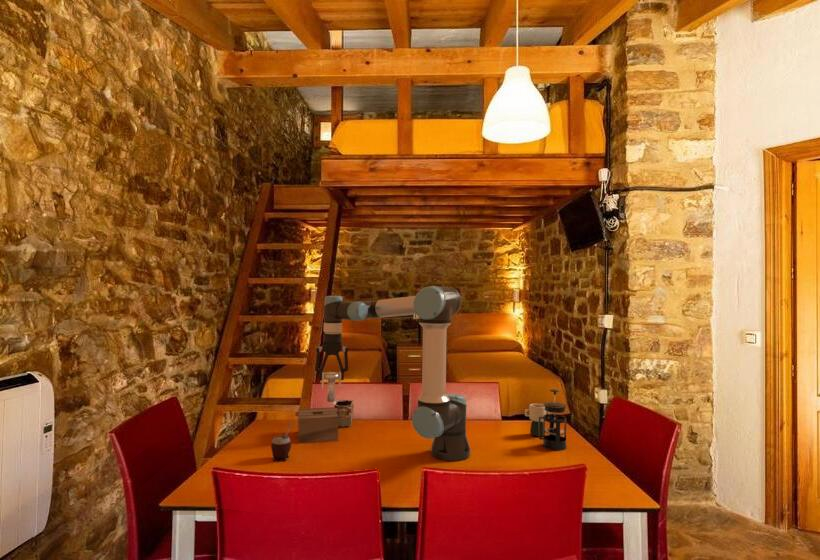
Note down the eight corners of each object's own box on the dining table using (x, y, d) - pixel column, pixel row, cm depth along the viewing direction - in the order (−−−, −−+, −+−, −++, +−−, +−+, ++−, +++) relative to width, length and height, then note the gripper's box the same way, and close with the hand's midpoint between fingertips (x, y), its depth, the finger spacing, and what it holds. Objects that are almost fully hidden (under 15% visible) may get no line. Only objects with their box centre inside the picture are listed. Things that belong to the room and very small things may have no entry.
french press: (564, 442, 200) (564, 387, 201) (571, 450, 191) (571, 392, 191) (536, 442, 201) (536, 387, 201) (541, 450, 191) (542, 392, 192)
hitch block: (337, 440, 200) (338, 416, 200) (298, 443, 196) (298, 418, 197) (334, 429, 216) (335, 407, 216) (298, 431, 212) (298, 409, 212)
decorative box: (322, 427, 219) (322, 406, 219) (331, 416, 238) (332, 396, 239) (350, 428, 218) (351, 407, 218) (358, 416, 238) (358, 397, 238)
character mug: (549, 433, 213) (549, 404, 213) (551, 438, 206) (551, 408, 206) (524, 432, 215) (524, 402, 215) (525, 436, 208) (525, 406, 208)
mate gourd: (267, 459, 178) (268, 418, 179) (286, 453, 184) (287, 414, 184) (277, 464, 173) (278, 422, 173) (296, 459, 179) (297, 418, 179)
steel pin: (339, 402, 198) (340, 374, 198) (323, 403, 197) (324, 375, 197) (337, 398, 205) (338, 371, 205) (322, 399, 203) (323, 372, 203)
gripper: (354, 331, 207) (353, 385, 207) (308, 331, 202) (307, 386, 202) (356, 333, 200) (355, 389, 199) (309, 333, 195) (307, 390, 195)
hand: (331, 387), depth 201 cm, fingers closed on steel pin, 6 cm apart
